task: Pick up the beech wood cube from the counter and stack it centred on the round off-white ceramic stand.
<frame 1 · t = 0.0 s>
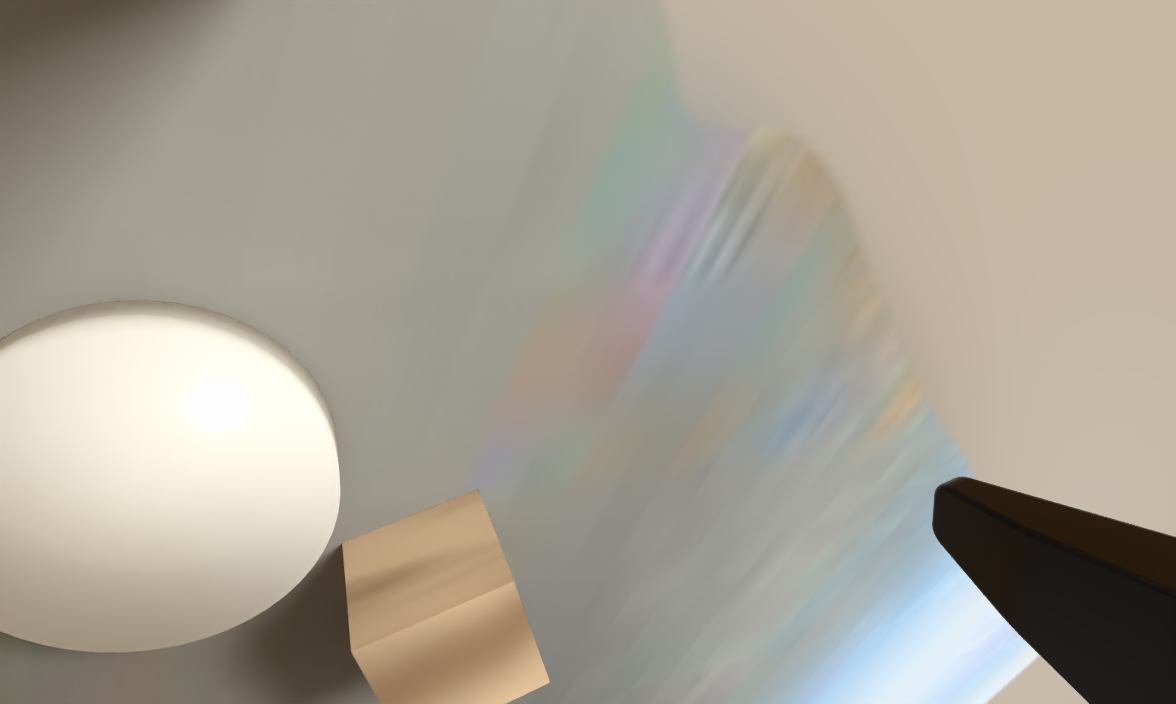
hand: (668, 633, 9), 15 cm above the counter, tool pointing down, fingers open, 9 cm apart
ceramic stand: (157, 458, 21), on the counter
beech cube: (432, 563, 26), on the counter
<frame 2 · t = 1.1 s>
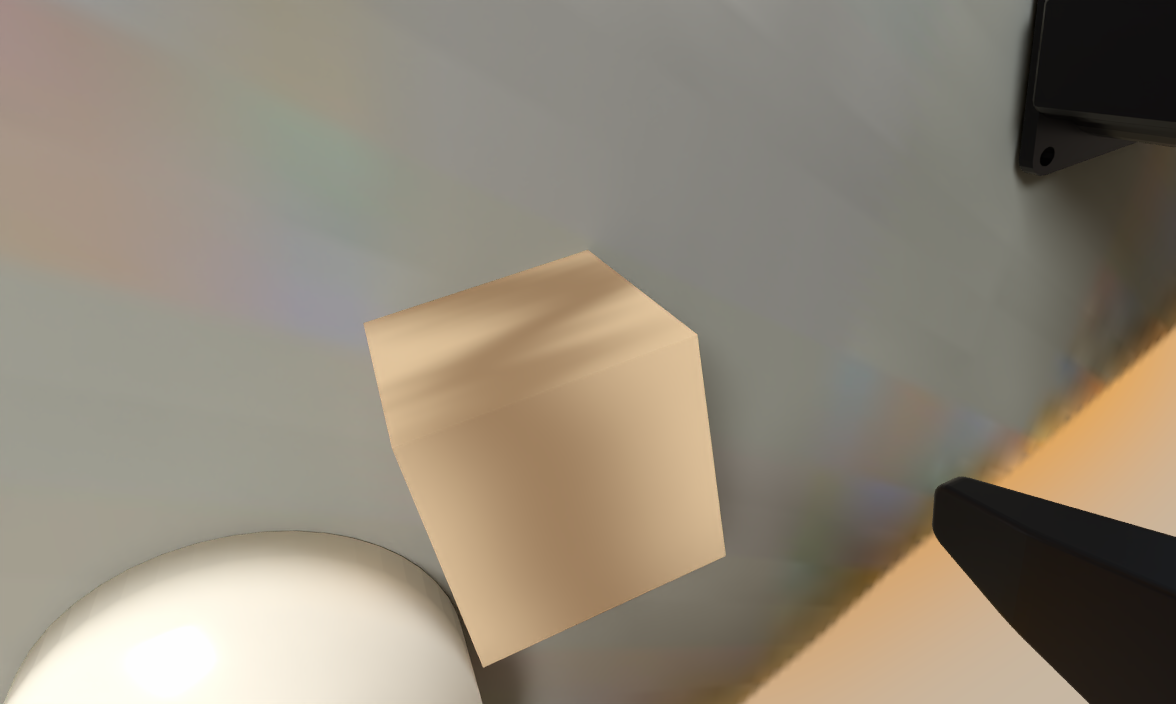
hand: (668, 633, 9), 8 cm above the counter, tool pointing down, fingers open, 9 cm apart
ceramic stand: (261, 699, 17), on the counter
beech cube: (507, 381, 16), on the counter
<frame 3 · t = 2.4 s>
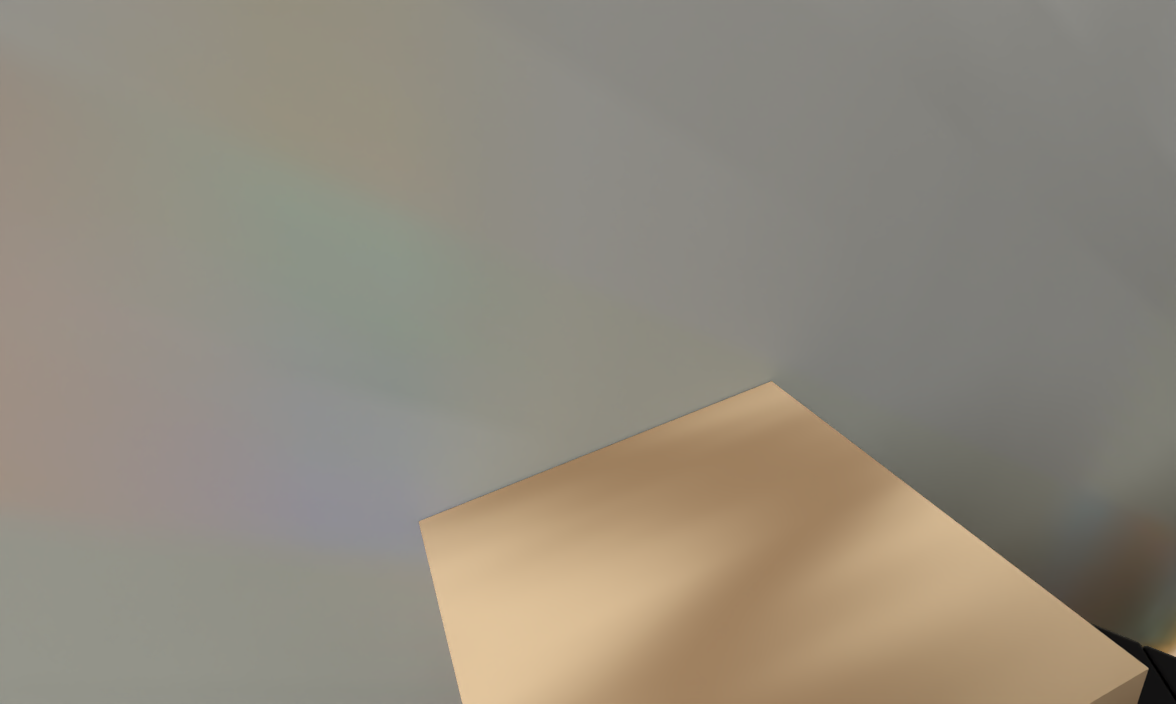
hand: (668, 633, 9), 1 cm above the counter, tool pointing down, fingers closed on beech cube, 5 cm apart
beech cube: (635, 580, 10), on the counter, touching gripper
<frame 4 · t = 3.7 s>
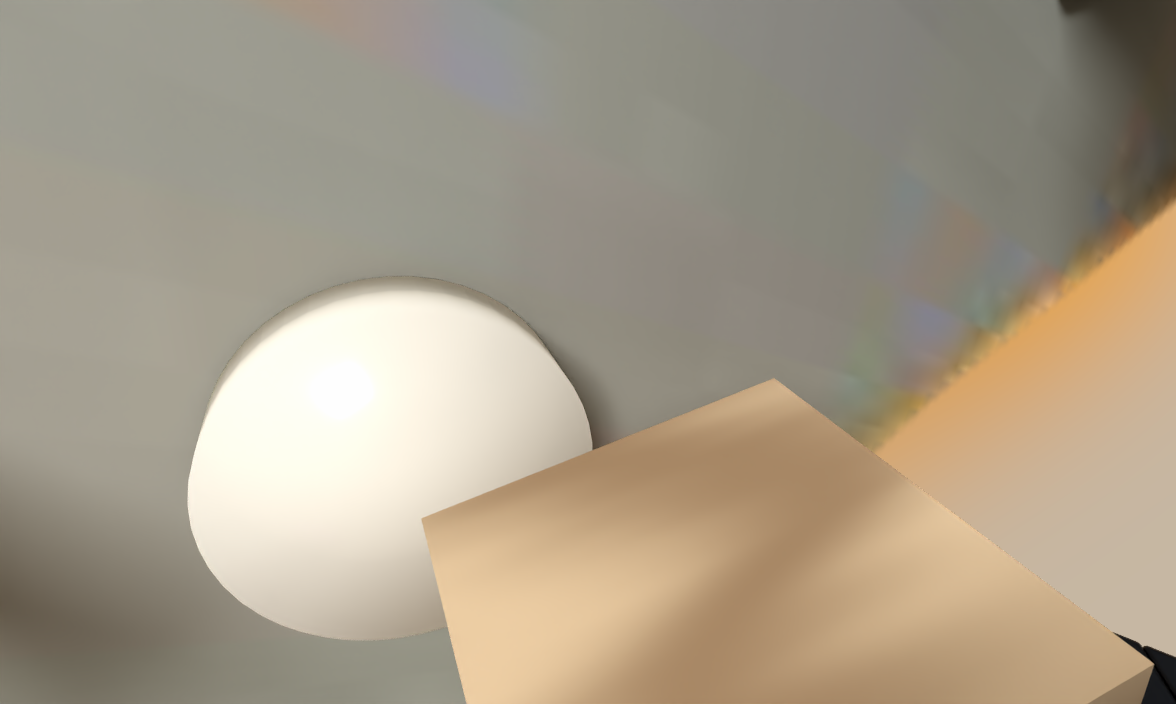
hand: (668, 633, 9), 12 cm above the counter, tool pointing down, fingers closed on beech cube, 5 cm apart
ceramic stand: (399, 441, 20), on the counter
beech cube: (638, 577, 10), point 11 cm above the counter, touching gripper
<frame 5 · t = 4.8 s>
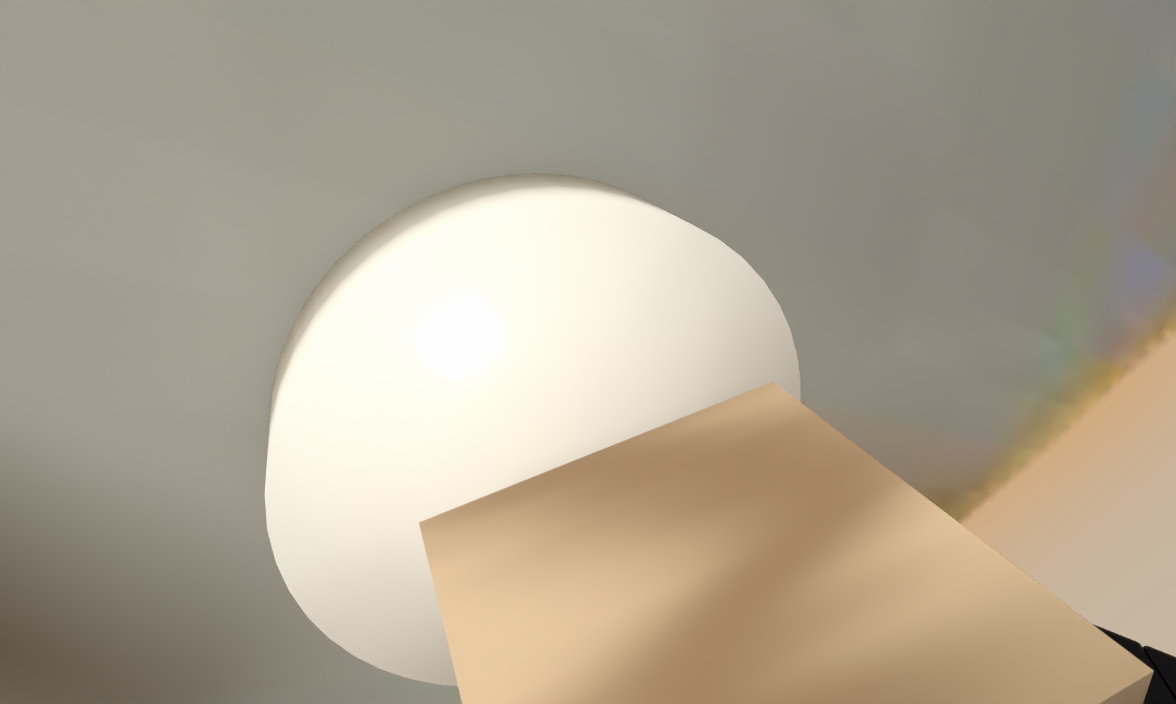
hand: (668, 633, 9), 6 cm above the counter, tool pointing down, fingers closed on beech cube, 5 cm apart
ceramic stand: (529, 412, 15), on the counter
beech cube: (636, 581, 10), point 5 cm above the counter, touching gripper
when the fingers open (4 cm above the counter, at t = 5.5 s): beech cube stays where it is, resting on ceramic stand.
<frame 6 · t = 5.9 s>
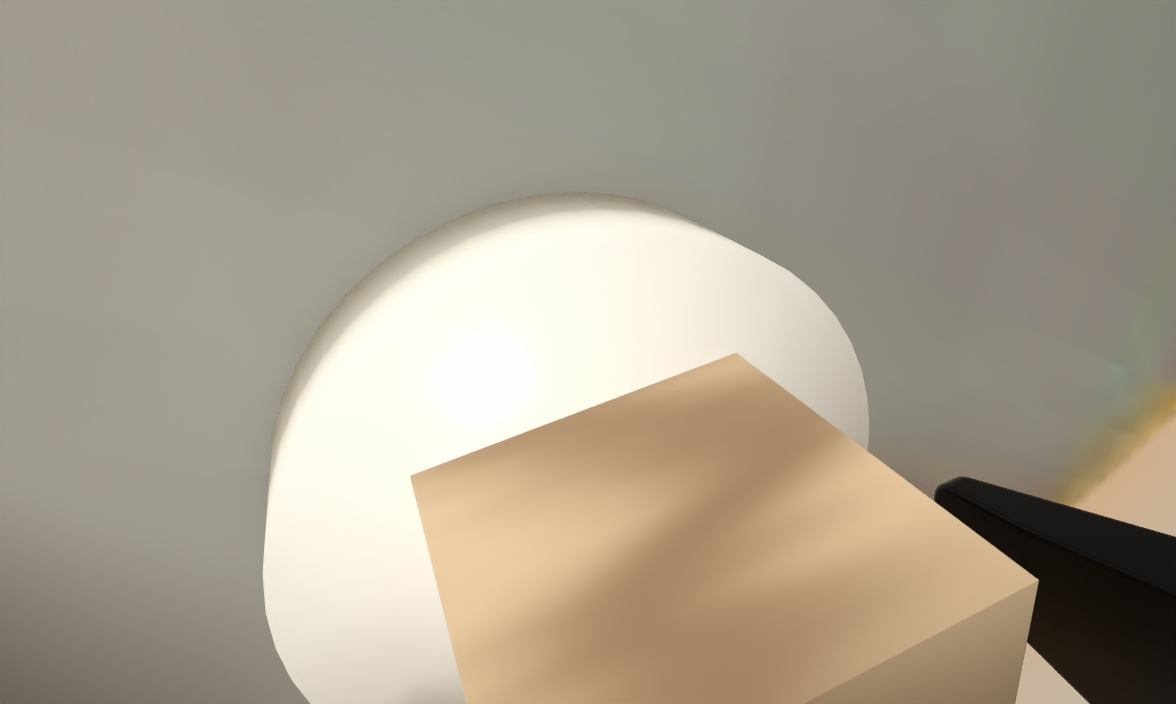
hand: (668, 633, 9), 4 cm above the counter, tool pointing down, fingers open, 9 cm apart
ceramic stand: (559, 457, 13), on the counter
beech cube: (611, 538, 11), point 2 cm above the counter, touching ceramic stand
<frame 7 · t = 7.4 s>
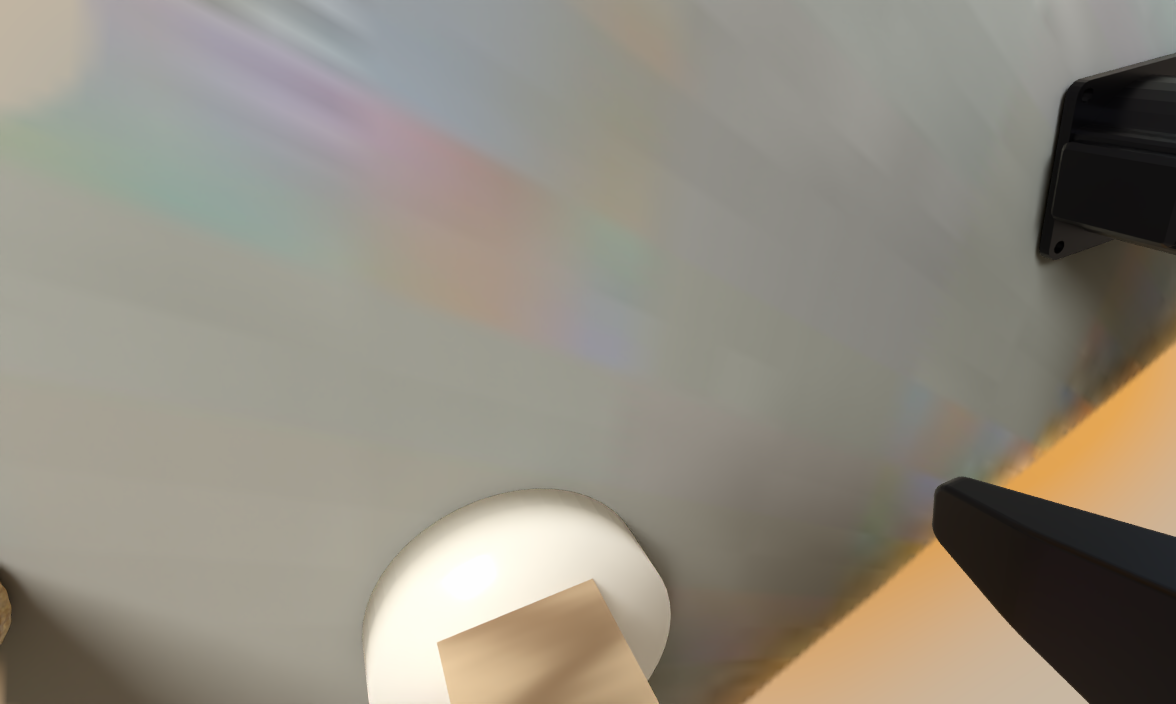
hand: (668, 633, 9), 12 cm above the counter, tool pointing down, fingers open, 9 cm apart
ceramic stand: (510, 608, 24), on the counter
beech cube: (532, 662, 22), point 2 cm above the counter, touching ceramic stand
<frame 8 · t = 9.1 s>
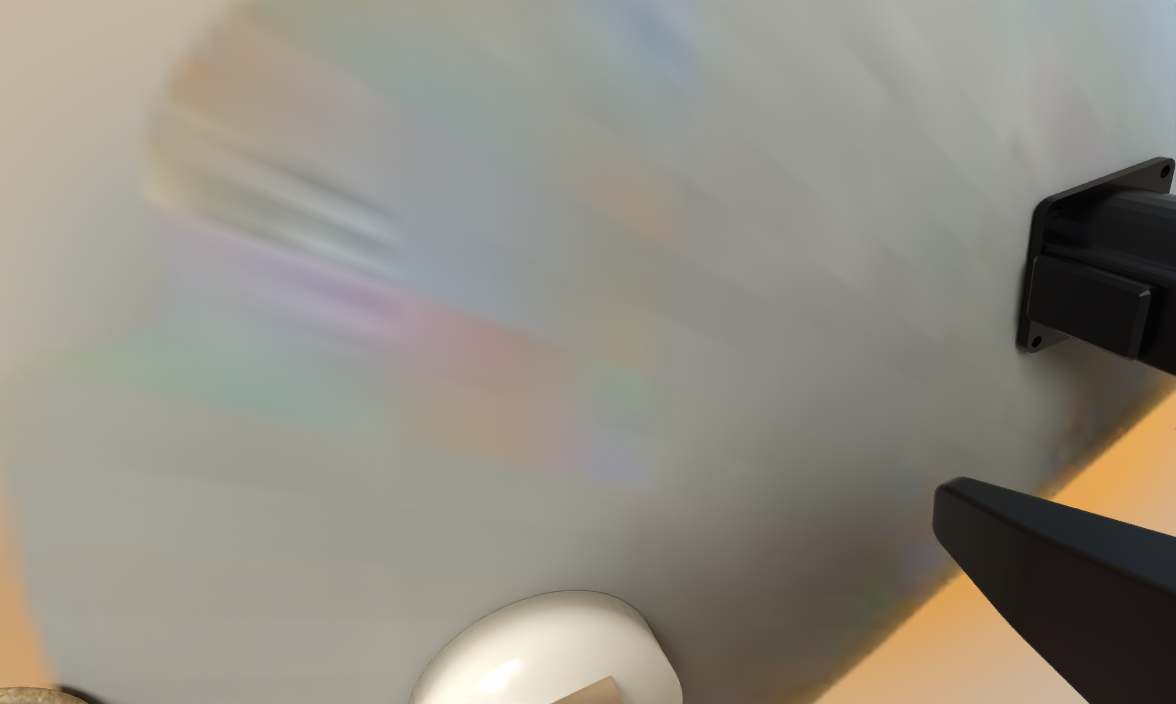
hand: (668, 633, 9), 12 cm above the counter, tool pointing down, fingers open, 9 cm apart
ceramic stand: (537, 693, 27), on the counter
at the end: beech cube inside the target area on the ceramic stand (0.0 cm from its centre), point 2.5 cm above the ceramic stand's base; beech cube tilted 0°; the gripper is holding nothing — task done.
